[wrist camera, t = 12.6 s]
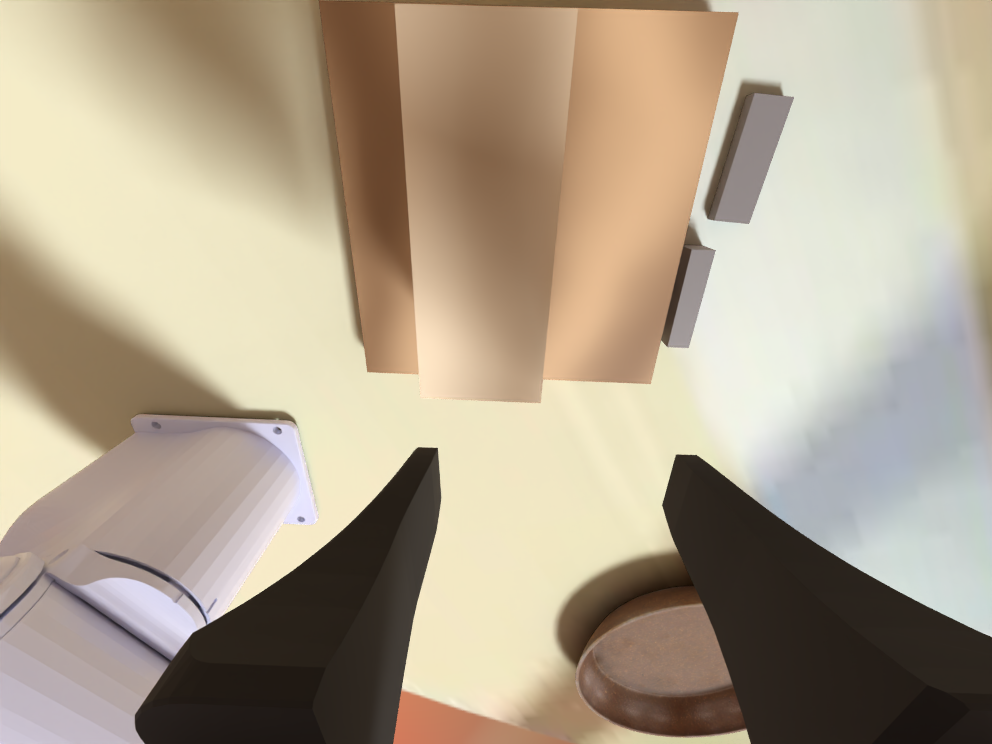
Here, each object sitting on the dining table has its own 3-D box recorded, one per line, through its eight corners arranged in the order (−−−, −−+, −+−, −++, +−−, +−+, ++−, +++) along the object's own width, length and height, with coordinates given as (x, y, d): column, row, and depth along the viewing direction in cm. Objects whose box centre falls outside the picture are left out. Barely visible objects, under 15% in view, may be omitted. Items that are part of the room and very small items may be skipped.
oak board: (376, 359, 21) (367, 372, 20) (336, 16, 15) (318, 0, 13) (641, 370, 21) (650, 383, 19) (717, 27, 14) (738, 12, 13)
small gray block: (667, 347, 19) (688, 347, 19) (691, 249, 17) (715, 250, 17) (656, 335, 20) (676, 336, 20) (678, 243, 18) (700, 244, 18)
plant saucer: (544, 679, 35) (547, 721, 32) (615, 545, 27) (627, 586, 24) (729, 709, 36) (747, 752, 33) (849, 589, 28) (885, 633, 26)
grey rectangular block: (748, 223, 17) (736, 221, 18) (794, 97, 15) (777, 101, 16) (714, 220, 17) (703, 218, 18) (755, 92, 15) (740, 97, 16)
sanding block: (446, 332, 18) (420, 398, 13) (438, 68, 14) (394, 3, 9) (531, 336, 18) (540, 403, 13) (551, 71, 14) (577, 8, 9)
